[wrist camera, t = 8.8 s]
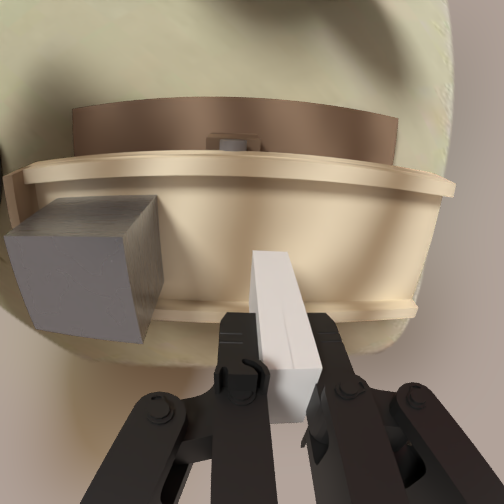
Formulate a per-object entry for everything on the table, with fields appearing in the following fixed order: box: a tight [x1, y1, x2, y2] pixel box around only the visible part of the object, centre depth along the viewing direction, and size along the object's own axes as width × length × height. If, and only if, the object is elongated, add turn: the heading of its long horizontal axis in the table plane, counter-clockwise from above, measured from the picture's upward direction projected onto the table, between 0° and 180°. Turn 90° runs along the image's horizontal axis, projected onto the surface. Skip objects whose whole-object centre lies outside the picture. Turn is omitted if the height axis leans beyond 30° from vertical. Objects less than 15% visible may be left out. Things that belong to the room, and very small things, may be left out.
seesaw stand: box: [72, 97, 398, 165], centre depth 20 cm, size 24×15×5 cm, turn 87°
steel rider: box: [4, 195, 164, 344], centre depth 13 cm, size 6×5×5 cm
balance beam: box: [2, 139, 456, 323], centre depth 16 cm, size 24×10×4 cm, turn 87°
